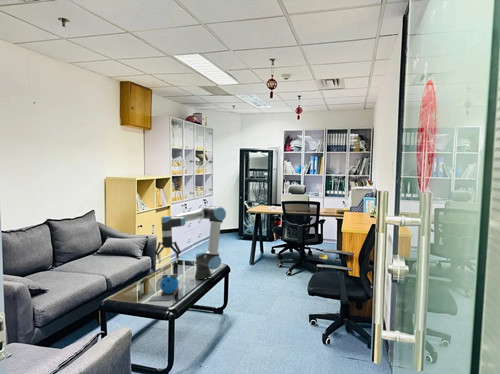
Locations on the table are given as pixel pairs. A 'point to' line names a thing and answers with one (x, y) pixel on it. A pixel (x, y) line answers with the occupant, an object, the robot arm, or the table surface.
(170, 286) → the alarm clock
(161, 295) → the clock stand
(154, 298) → the rubber mat
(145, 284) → the table surface
